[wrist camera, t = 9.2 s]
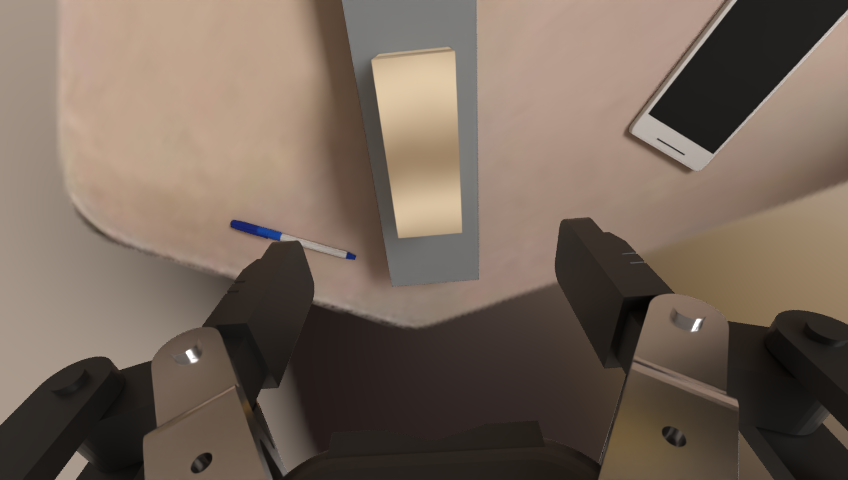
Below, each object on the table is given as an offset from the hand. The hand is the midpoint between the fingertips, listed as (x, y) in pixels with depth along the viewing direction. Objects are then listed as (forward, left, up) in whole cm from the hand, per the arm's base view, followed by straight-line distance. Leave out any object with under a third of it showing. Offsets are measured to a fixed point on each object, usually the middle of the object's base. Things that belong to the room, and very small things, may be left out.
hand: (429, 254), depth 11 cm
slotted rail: (0, 0, -17) cm, 17 cm away
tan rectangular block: (0, 0, -17) cm, 17 cm away
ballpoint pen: (+12, +9, -17) cm, 22 cm away
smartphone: (-22, -3, -17) cm, 28 cm away
